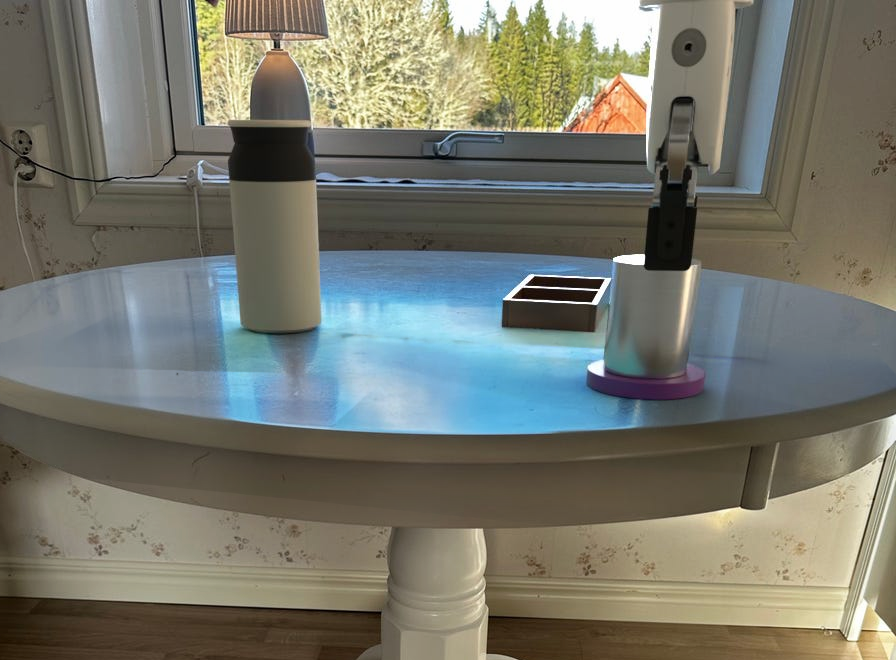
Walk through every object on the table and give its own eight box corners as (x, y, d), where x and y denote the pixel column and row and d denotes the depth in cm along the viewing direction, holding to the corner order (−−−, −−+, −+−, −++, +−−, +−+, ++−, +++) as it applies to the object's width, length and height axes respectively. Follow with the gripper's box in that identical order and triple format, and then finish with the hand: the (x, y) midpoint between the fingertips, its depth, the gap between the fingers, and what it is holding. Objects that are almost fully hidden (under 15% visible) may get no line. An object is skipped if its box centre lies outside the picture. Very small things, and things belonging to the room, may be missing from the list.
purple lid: (702, 375, 78) (705, 361, 77) (703, 403, 70) (705, 387, 70) (591, 368, 80) (593, 354, 79) (580, 394, 72) (582, 379, 72)
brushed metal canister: (686, 363, 76) (701, 256, 73) (685, 382, 71) (702, 267, 67) (606, 358, 78) (616, 253, 74) (599, 376, 72) (610, 263, 69)
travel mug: (313, 335, 91) (304, 120, 82) (231, 333, 91) (214, 119, 83) (327, 320, 98) (320, 120, 89) (251, 318, 98) (237, 119, 90)
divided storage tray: (608, 308, 106) (611, 278, 104) (594, 338, 91) (597, 304, 89) (527, 303, 108) (529, 274, 106) (500, 332, 93) (502, 299, 91)
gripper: (764, -40, 54) (724, 279, 62) (750, -8, 69) (719, 247, 77) (629, -32, 56) (607, 277, 64) (644, -3, 71) (624, 246, 79)
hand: (668, 260), depth 71 cm, fingers open, 9 cm apart
